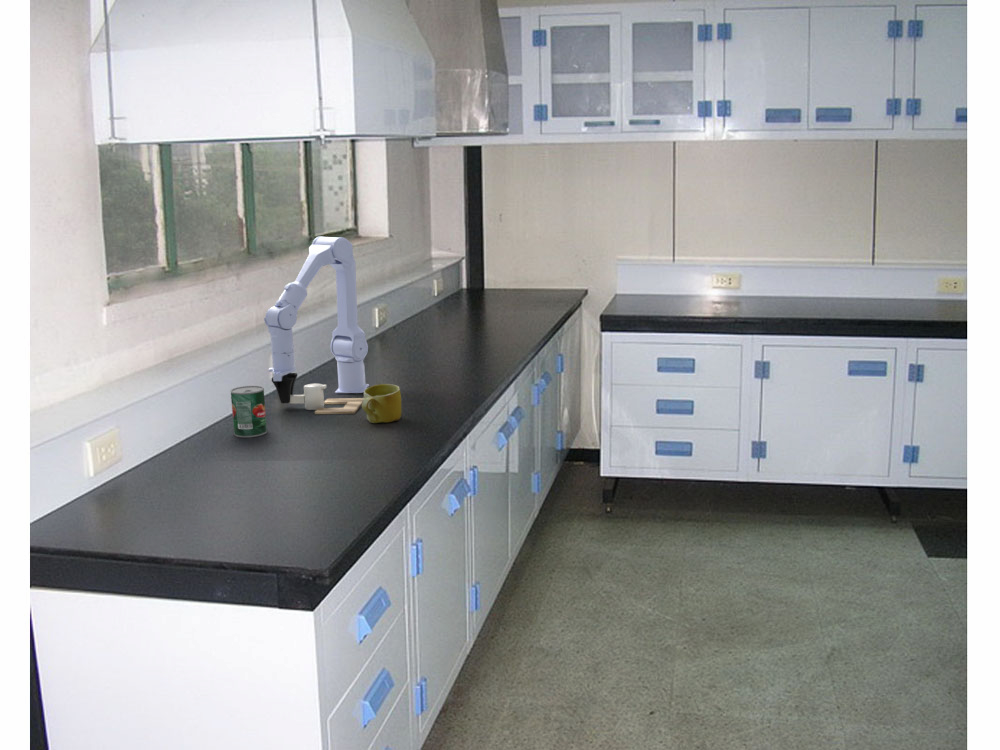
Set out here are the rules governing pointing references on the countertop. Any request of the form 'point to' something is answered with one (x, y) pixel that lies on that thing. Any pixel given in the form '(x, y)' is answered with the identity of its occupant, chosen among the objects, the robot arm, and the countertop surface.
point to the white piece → (310, 397)
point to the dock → (349, 408)
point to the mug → (382, 403)
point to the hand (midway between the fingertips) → (286, 401)
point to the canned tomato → (248, 411)
